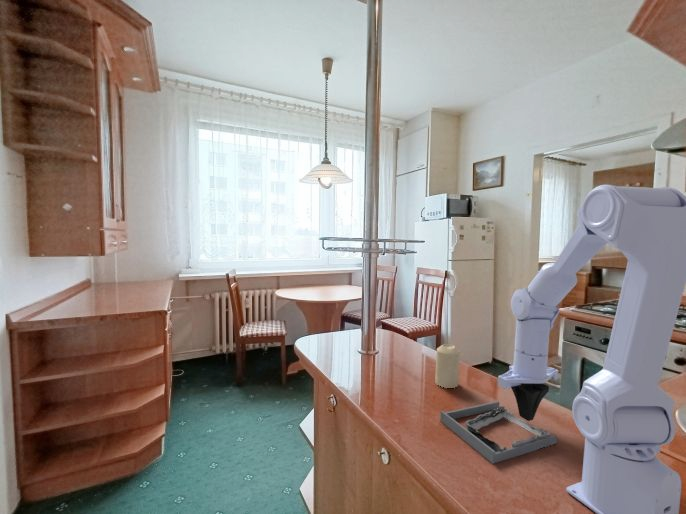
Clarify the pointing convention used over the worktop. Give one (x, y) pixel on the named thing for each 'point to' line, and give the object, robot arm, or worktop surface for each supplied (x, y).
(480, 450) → the box
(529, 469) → the worktop surface
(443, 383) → the candle
